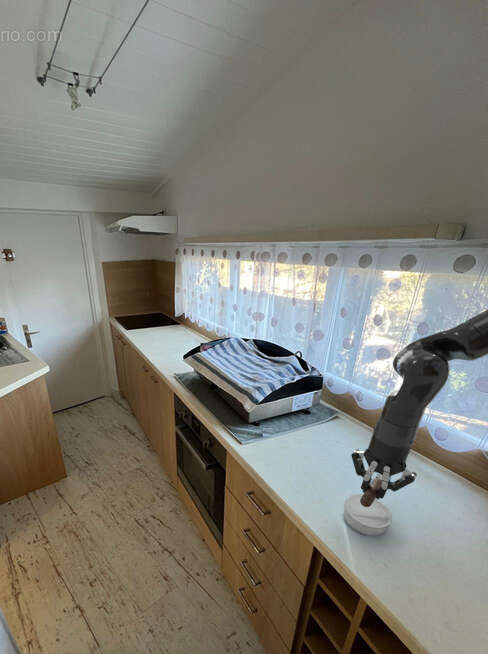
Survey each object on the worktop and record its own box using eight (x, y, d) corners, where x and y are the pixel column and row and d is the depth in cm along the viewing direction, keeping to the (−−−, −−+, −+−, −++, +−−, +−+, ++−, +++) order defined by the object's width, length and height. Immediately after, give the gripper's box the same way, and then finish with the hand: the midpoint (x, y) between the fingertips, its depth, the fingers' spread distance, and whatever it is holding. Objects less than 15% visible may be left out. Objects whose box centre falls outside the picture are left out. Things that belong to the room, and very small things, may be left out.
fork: (381, 467, 84) (384, 460, 83) (391, 472, 82) (394, 465, 81) (357, 505, 72) (359, 498, 71) (368, 511, 71) (371, 503, 69)
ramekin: (366, 547, 76) (371, 533, 74) (331, 515, 85) (335, 501, 83) (396, 531, 80) (402, 518, 78) (359, 502, 89) (364, 489, 87)
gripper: (435, 441, 65) (408, 500, 73) (365, 418, 73) (347, 473, 82) (427, 458, 60) (399, 519, 68) (353, 430, 69) (336, 487, 77)
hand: (371, 493), depth 75 cm, fingers closed on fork, 2 cm apart
